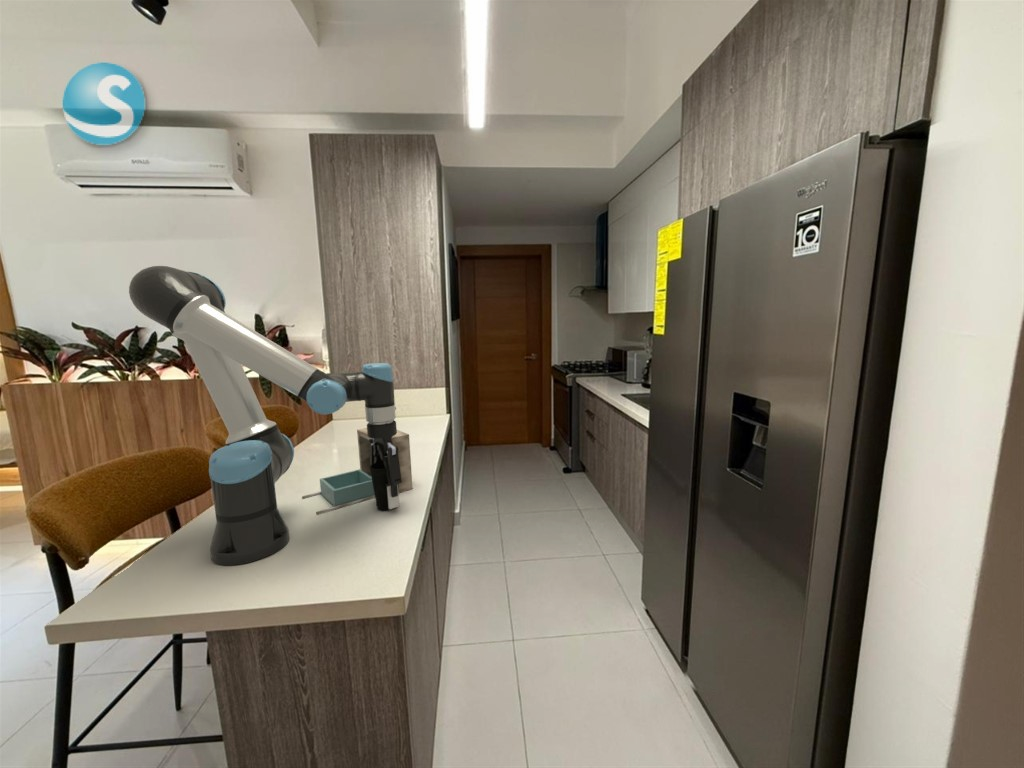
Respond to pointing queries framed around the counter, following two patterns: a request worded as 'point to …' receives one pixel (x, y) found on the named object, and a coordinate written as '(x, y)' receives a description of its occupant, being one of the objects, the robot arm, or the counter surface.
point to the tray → (347, 487)
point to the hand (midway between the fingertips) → (387, 502)
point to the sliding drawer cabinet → (403, 454)
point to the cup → (380, 486)
